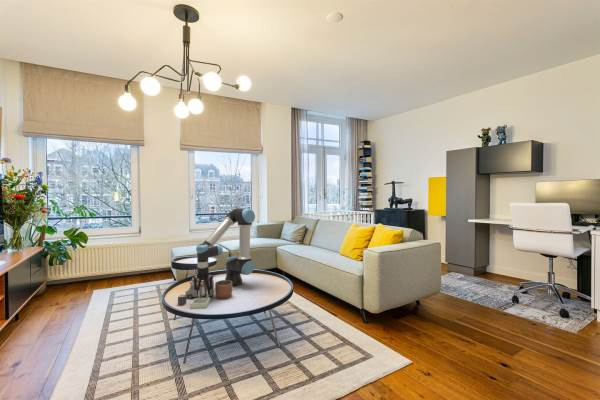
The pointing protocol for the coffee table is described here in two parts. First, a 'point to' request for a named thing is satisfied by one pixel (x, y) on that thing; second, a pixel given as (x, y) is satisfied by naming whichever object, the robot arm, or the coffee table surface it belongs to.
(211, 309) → the coffee table surface
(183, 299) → the chock
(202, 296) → the pin
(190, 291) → the toy vehicle
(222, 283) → the planter
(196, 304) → the tray
